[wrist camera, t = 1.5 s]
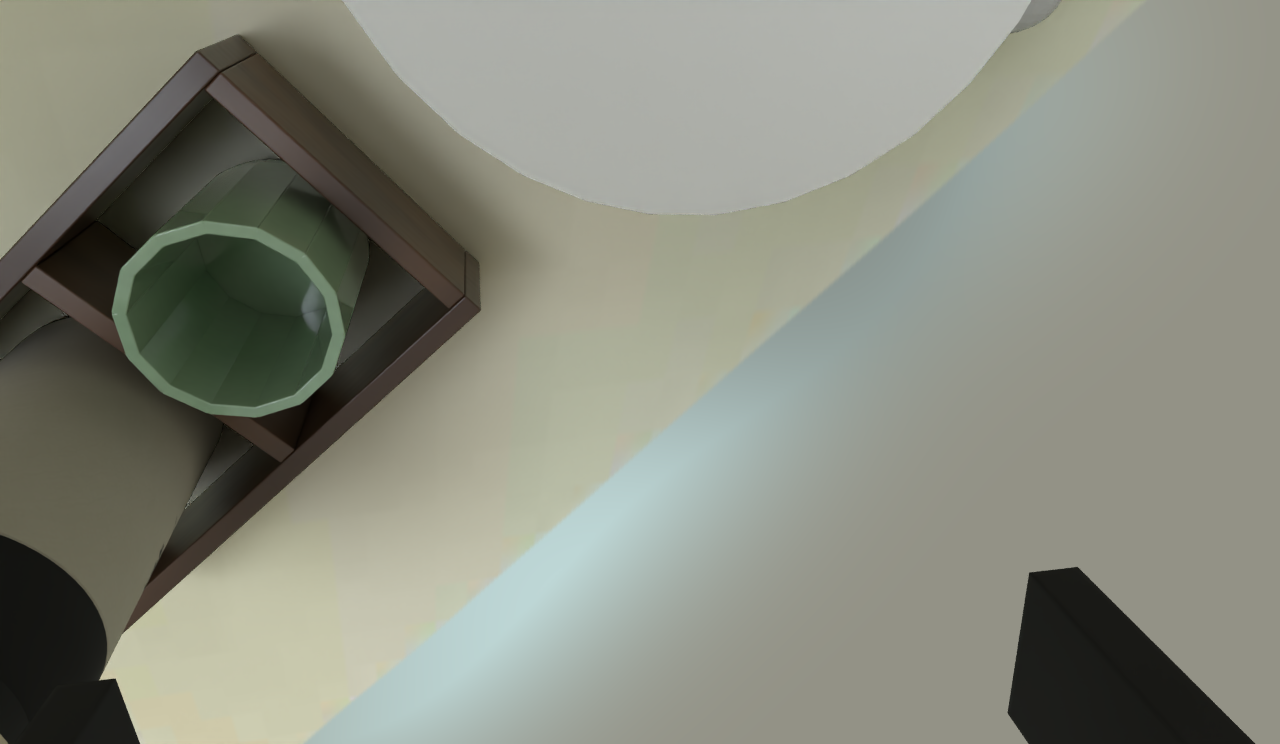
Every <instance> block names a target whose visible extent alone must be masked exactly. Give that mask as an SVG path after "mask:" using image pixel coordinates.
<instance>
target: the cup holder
mask: <svg viewBox="0 0 1280 744" xmlns="http://www.w3.org/2000/svg"><path fill="white" fill-rule="evenodd" d="M213 98H214V99H215V100H216V101H217V102H218V103H219V104H220V105H221V106H223V107H224V108H225V109H226V110H227V111H228V112H229V113H230V114H232V115H233V116H234V117H235V118H236V119H237V120H238V121H239V122H240V123H242V124H243V125H244V126H245V127H246V128H247V129H248V130H249V131H251V132H252V133H253V134H254V135H255V136H256V137H257V138H258V139H259V140H261V141H262V142H263V143H264V144H265V145H266V146H267V147H268V148H270V149H271V150H272V151H273V152H274V153H275V154H276V155H277V156H278V157H280V158H281V159H282V160H283V161H284V162H285V163H286V164H287V165H289V166H290V167H291V168H292V169H293V170H294V171H295V172H296V173H297V174H299V175H300V176H301V177H302V178H303V179H304V180H305V181H306V182H308V183H309V184H310V185H311V186H312V187H313V188H314V189H315V190H316V191H318V192H319V193H320V194H321V195H322V196H323V197H324V198H325V199H327V200H328V201H329V202H330V203H331V204H332V205H333V206H334V207H335V208H337V209H338V210H339V211H340V212H341V213H342V214H343V215H344V216H346V217H347V218H348V219H349V220H350V221H351V222H352V223H353V224H354V225H356V226H357V227H358V228H359V229H360V230H361V231H362V232H363V233H365V234H366V235H367V236H368V237H369V238H370V239H371V240H372V241H373V242H375V243H376V244H377V245H378V246H379V247H380V248H381V249H382V250H384V251H385V252H386V253H387V254H388V255H389V256H390V257H391V258H392V259H394V260H395V261H396V262H397V263H398V264H399V265H400V266H401V267H403V268H404V269H405V270H406V271H407V272H408V273H409V274H410V275H411V276H413V277H414V278H415V279H416V280H417V281H418V282H419V283H420V284H422V285H423V286H424V287H425V288H424V289H423V290H422V291H421V292H420V293H419V294H418V295H417V296H416V297H414V298H413V299H412V300H411V301H410V302H409V303H408V304H407V305H406V306H405V307H404V308H403V309H401V310H400V311H399V312H398V313H397V314H396V315H395V316H394V317H393V318H392V319H391V320H390V321H388V322H387V323H386V324H385V325H384V326H383V327H382V328H381V329H380V330H379V331H378V332H377V333H375V334H374V335H373V336H372V337H371V338H370V339H369V340H368V341H367V342H366V343H365V344H364V345H362V346H361V347H360V348H359V349H358V350H357V351H356V352H355V353H354V354H353V355H352V356H351V357H349V358H348V359H347V360H346V361H345V362H344V363H343V364H342V365H341V366H340V367H339V368H338V369H337V370H335V371H334V374H333V375H332V377H330V378H329V379H328V380H327V381H326V382H325V383H324V384H323V385H322V386H321V387H320V388H319V389H317V390H316V391H315V392H314V393H313V394H312V395H311V396H310V397H309V398H308V399H307V400H306V401H304V402H303V403H301V404H300V405H297V406H293V407H290V408H287V409H284V410H281V411H277V412H274V413H271V414H268V415H265V416H261V417H242V416H229V415H215V414H211V415H213V416H214V417H216V418H217V419H219V420H220V421H221V422H223V423H224V424H226V425H227V426H229V427H230V428H231V429H233V430H234V431H236V432H237V433H239V434H240V435H242V436H243V437H244V438H246V439H247V440H249V441H250V442H252V443H253V444H255V445H254V446H253V447H252V448H251V449H250V450H249V451H248V452H247V453H246V454H244V455H243V456H242V457H241V458H240V459H239V460H238V461H237V462H236V463H235V464H234V465H233V466H231V467H230V468H229V469H228V470H227V471H226V472H225V473H224V474H223V475H222V476H221V477H220V478H218V479H217V480H216V481H215V482H214V483H213V484H212V485H211V486H210V487H209V488H208V489H207V490H206V491H204V492H203V493H202V494H201V495H200V496H199V497H198V498H197V499H196V500H195V501H194V502H193V503H191V504H190V505H189V506H188V507H187V508H186V509H185V510H184V511H183V513H182V515H181V517H180V519H179V521H178V523H177V525H176V527H175V529H174V531H173V533H172V535H171V537H170V539H169V541H168V543H167V545H166V547H165V549H164V551H163V553H162V555H161V557H160V559H159V561H158V563H157V565H156V567H155V569H154V571H153V573H152V575H151V577H150V579H149V581H148V583H147V585H146V587H145V589H144V591H143V593H142V595H141V597H140V599H139V601H138V603H137V605H136V607H135V609H134V611H133V613H132V615H131V617H130V619H129V621H128V623H127V625H126V627H125V629H124V631H123V633H124V632H125V631H126V630H127V629H128V628H129V627H131V626H132V625H133V624H134V623H135V622H136V621H137V620H138V619H139V618H140V617H142V616H143V615H144V614H145V613H146V612H147V611H148V610H149V609H150V608H152V607H153V606H154V605H155V604H156V603H157V602H158V601H159V600H160V599H162V598H163V597H164V596H165V595H166V594H167V593H168V592H169V591H170V590H172V589H173V588H174V587H175V586H176V585H177V584H178V583H179V582H180V581H181V580H183V579H184V578H185V577H186V576H187V575H188V574H189V573H190V572H191V571H193V570H194V569H195V568H196V567H197V566H198V565H199V564H200V563H201V562H203V561H204V560H205V559H206V558H207V557H208V556H209V555H210V554H211V553H213V552H214V551H215V550H216V549H217V548H218V547H219V546H220V545H221V544H223V543H224V542H225V541H226V540H227V539H228V538H229V537H230V536H231V535H232V534H234V533H235V532H236V531H237V530H238V529H239V528H240V527H241V526H242V525H244V524H245V523H246V522H247V521H248V520H249V519H250V518H251V517H252V516H254V515H255V514H256V513H257V512H258V511H259V510H260V509H261V508H262V507H264V506H265V505H266V504H267V503H268V502H269V501H270V500H271V499H272V498H273V497H275V496H276V495H277V494H278V493H279V492H280V491H281V490H282V489H283V488H285V487H286V486H287V485H288V484H289V483H290V482H291V481H292V480H293V479H295V478H296V477H297V476H298V475H299V474H300V473H301V472H302V471H303V470H305V469H306V468H307V467H308V466H309V465H310V464H311V463H312V462H313V461H314V460H316V459H317V458H318V457H319V456H320V455H321V454H322V453H323V452H324V451H326V450H327V449H328V448H329V447H330V446H331V445H332V444H333V443H334V442H336V441H337V440H338V439H339V438H340V437H341V436H342V435H343V434H344V433H346V432H347V431H348V430H349V429H350V428H351V427H352V426H353V425H354V424H355V423H357V422H358V421H359V420H360V419H361V418H362V417H363V416H364V415H365V414H367V413H368V412H369V411H370V410H371V409H372V408H373V407H374V406H375V405H377V404H378V403H379V402H380V401H381V400H382V399H383V398H384V397H385V396H387V395H388V394H389V393H390V392H391V391H392V390H393V389H394V388H395V387H396V386H398V385H399V384H400V383H401V382H402V381H403V380H404V379H405V378H406V377H408V376H409V375H410V374H411V373H412V372H413V371H414V370H415V369H416V368H418V367H419V366H420V365H421V364H422V363H423V362H424V361H425V360H426V359H428V358H429V357H430V356H431V355H432V354H433V353H434V352H435V351H436V350H437V349H439V348H440V347H441V346H442V345H443V344H444V343H445V342H446V341H447V340H449V339H450V338H451V337H452V336H453V335H454V334H455V333H456V332H457V331H459V330H460V329H461V328H462V327H463V326H464V325H465V324H466V323H467V322H469V321H470V320H471V319H472V318H473V317H474V316H475V315H476V314H477V313H479V312H480V310H481V302H480V275H479V263H478V262H477V261H476V260H475V259H474V258H473V257H472V256H471V255H470V254H469V253H468V252H467V251H465V250H464V248H463V247H462V246H460V245H459V244H458V243H457V242H456V241H455V240H454V239H453V238H452V237H451V236H450V235H449V234H448V233H447V232H446V231H445V230H444V229H443V228H441V227H440V226H439V225H438V224H437V223H436V222H435V221H434V220H433V219H432V218H431V217H430V216H429V215H428V214H427V213H426V212H425V211H424V210H423V209H421V208H420V207H419V206H418V205H417V204H416V203H415V202H414V201H413V200H412V199H411V198H410V197H409V196H408V195H407V194H406V193H405V192H404V191H403V190H401V189H400V188H399V187H398V186H397V185H396V184H395V183H394V182H393V181H392V180H391V179H390V178H389V177H388V176H387V175H386V174H385V173H384V172H383V171H381V170H380V169H379V168H378V167H377V166H376V165H375V164H374V163H373V162H372V161H371V160H370V159H369V158H368V157H367V156H366V155H365V154H364V153H363V152H361V151H360V150H359V149H358V148H357V147H356V146H355V145H354V144H353V143H352V142H351V141H350V140H349V139H348V138H347V137H346V136H345V135H344V134H343V133H341V132H340V131H339V130H338V129H337V128H336V127H335V126H334V125H333V124H332V123H331V122H330V121H329V120H328V119H327V118H326V117H325V116H324V115H323V114H321V113H320V112H319V111H318V110H317V109H316V108H315V107H314V106H313V105H312V104H311V103H310V102H309V101H308V100H307V99H306V98H305V97H304V96H303V95H301V94H300V93H299V92H298V91H297V90H296V89H295V88H294V87H293V86H292V85H291V84H290V83H289V82H288V81H287V80H286V79H285V78H284V77H283V76H281V75H280V74H279V73H278V72H277V71H276V70H275V69H274V68H273V67H272V66H271V65H270V64H269V63H268V62H267V61H266V60H265V59H264V58H263V57H261V56H260V55H259V54H257V53H256V51H255V50H254V49H253V48H252V47H251V46H250V45H249V44H248V43H247V42H246V41H245V40H244V39H243V38H242V37H241V36H240V35H235V36H232V37H230V38H228V39H225V40H223V41H220V42H218V43H215V44H213V45H210V46H208V47H205V48H203V49H200V50H198V51H196V52H195V53H194V54H193V55H192V56H191V57H190V58H189V59H188V60H187V61H186V62H185V64H184V65H183V66H182V67H181V68H180V69H179V70H178V71H177V72H176V73H175V74H174V75H173V76H172V77H171V78H170V80H169V81H168V82H167V83H166V84H165V85H164V86H163V87H162V88H161V89H160V90H159V91H158V92H157V93H156V94H155V95H154V97H153V98H152V99H151V100H150V101H149V102H148V103H147V104H146V105H145V106H144V107H143V108H142V109H141V110H140V111H139V113H138V114H137V115H136V116H135V117H134V118H133V119H132V120H131V121H130V122H129V123H128V124H127V125H126V126H125V127H124V128H123V130H122V131H121V132H120V133H119V134H118V135H117V136H116V137H115V138H114V139H113V140H112V141H111V142H110V143H109V144H108V146H107V147H106V148H105V149H104V150H103V151H102V152H101V153H100V154H99V155H98V156H97V157H96V158H95V159H94V160H93V161H92V163H91V164H90V165H89V166H88V167H87V168H86V169H85V170H84V171H83V172H82V173H81V174H80V175H79V176H78V177H77V178H76V180H75V181H74V182H73V183H72V184H71V185H70V186H69V187H68V188H67V189H66V190H65V191H64V192H63V193H62V194H61V196H60V197H59V198H58V199H57V200H56V201H55V202H54V203H53V204H52V205H51V206H50V207H49V208H48V209H47V210H46V211H45V213H44V214H43V215H42V216H41V217H40V218H39V219H38V220H37V221H36V222H35V223H34V224H33V225H32V226H31V227H30V229H29V230H28V231H27V232H26V233H25V234H24V235H23V236H22V237H21V238H20V239H19V240H18V241H17V242H16V243H15V244H14V246H13V247H12V248H11V249H10V250H9V251H8V252H7V253H6V254H5V255H4V256H3V257H2V258H1V259H0V320H1V319H2V318H3V317H4V316H5V315H6V314H7V313H8V312H9V311H10V309H11V308H12V307H13V306H14V305H15V304H16V303H17V302H18V301H19V300H20V299H21V298H22V297H23V296H24V295H25V294H26V293H27V292H28V291H29V290H30V289H31V290H33V291H34V292H36V293H37V294H39V295H40V296H42V297H43V298H44V299H46V300H47V301H49V302H50V303H52V304H53V305H54V306H56V307H57V308H59V309H60V310H62V311H63V312H65V313H66V314H67V315H69V316H70V317H72V318H73V319H75V320H76V321H77V322H79V323H80V324H82V325H83V326H85V327H86V328H88V329H89V330H90V331H92V332H93V333H95V334H96V335H98V336H99V337H101V338H102V339H103V340H105V341H106V342H108V343H109V344H111V345H112V346H113V347H115V348H116V349H118V350H119V351H121V352H122V353H124V354H125V351H124V348H123V345H122V342H121V339H120V337H119V334H118V331H117V328H116V325H115V322H114V319H113V316H112V306H113V302H114V297H115V292H116V287H117V282H118V277H119V272H120V270H121V267H122V266H123V265H124V264H125V263H126V262H127V261H128V260H129V259H130V258H131V257H132V256H133V255H134V254H135V253H136V252H137V251H136V250H135V249H133V248H132V247H131V246H129V245H128V244H127V243H125V242H124V241H123V240H122V239H120V238H119V237H118V236H116V235H115V234H114V233H112V232H111V231H110V230H108V229H107V228H106V227H104V226H103V225H102V224H101V223H99V222H98V221H96V220H97V219H98V218H99V217H100V216H101V214H102V213H103V212H104V211H105V210H106V209H107V208H108V207H109V206H110V205H111V204H112V203H113V202H114V201H115V200H116V199H117V198H118V197H119V196H120V195H121V194H122V193H123V192H124V190H125V189H126V188H127V187H128V186H129V185H130V184H131V183H132V182H133V181H134V180H135V179H136V178H137V177H138V176H139V175H140V174H141V173H142V172H143V171H144V170H145V169H146V168H147V166H148V165H149V164H150V163H151V162H152V161H153V160H154V159H155V158H156V157H157V156H158V155H159V154H160V153H161V152H162V151H163V150H164V149H165V148H166V147H167V146H168V145H169V143H170V142H171V141H172V140H173V139H174V138H175V137H176V136H177V135H178V134H179V133H180V132H181V131H182V130H183V129H184V128H185V127H186V126H187V125H188V124H189V123H190V122H191V121H192V119H193V118H194V117H195V116H196V115H197V114H198V113H199V112H200V111H201V110H202V109H203V108H204V107H205V106H206V105H207V104H208V103H209V102H210V101H211V100H212V99H213ZM125 355H126V354H125ZM123 633H122V634H123Z"/></svg>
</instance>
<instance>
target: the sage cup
mask: <svg viewBox="0 0 1280 744" xmlns="http://www.w3.org/2000/svg"><path fill="white" fill-rule="evenodd" d="M368 262H369V241H368V236H367V235H366V234H365V233H363V232H362V231H361V230H360V229H359V228H358V227H357V226H356V225H354V224H353V223H352V222H351V221H350V220H349V219H348V218H347V217H346V216H344V215H343V214H342V213H341V212H340V211H339V210H338V209H337V208H335V207H334V206H333V205H332V204H331V203H330V202H329V201H328V200H327V199H325V198H324V197H323V196H322V195H321V194H320V193H319V192H318V191H316V190H315V189H314V188H313V187H312V186H311V185H310V184H309V183H308V182H306V181H305V180H304V179H303V178H302V177H301V176H300V175H299V174H297V173H296V172H295V171H294V170H293V169H292V168H291V167H290V166H289V165H287V164H286V163H285V162H284V161H283V160H257V161H250V162H246V163H243V164H239V165H237V166H235V167H232V168H230V169H228V170H226V171H224V172H221V173H220V174H218V175H217V176H216V177H215V178H214V179H213V180H212V181H211V182H209V183H208V184H207V185H206V186H205V187H204V188H203V189H202V190H201V191H200V192H199V193H198V194H197V195H196V196H195V197H193V198H192V199H191V200H190V201H189V202H188V203H187V204H186V205H185V206H184V207H183V208H182V209H181V210H180V211H178V212H177V213H176V214H175V215H174V216H173V217H172V218H171V219H170V220H169V221H168V222H167V223H166V224H165V225H163V226H162V227H161V228H160V229H159V230H158V231H157V232H156V233H155V234H154V235H153V236H152V237H151V238H150V239H149V240H148V241H147V242H146V243H145V244H144V245H143V246H142V247H141V248H140V249H139V250H138V251H137V252H136V253H135V254H134V255H133V256H132V257H131V258H130V259H129V260H128V261H127V262H126V263H125V264H124V265H123V266H122V267H121V270H120V272H119V277H118V282H117V287H116V292H115V297H114V302H113V306H112V316H113V319H114V322H115V325H116V328H117V331H118V334H119V337H120V339H121V342H122V345H123V348H124V351H125V354H126V356H127V358H128V359H129V360H130V361H131V362H132V363H133V364H134V365H135V366H136V367H137V368H138V369H139V370H140V371H141V372H142V373H143V374H144V375H145V377H146V378H147V379H148V380H149V381H150V382H151V383H152V384H153V385H154V386H155V387H156V388H157V389H158V390H159V391H160V392H163V394H165V395H167V396H169V397H172V398H174V399H176V400H178V401H181V402H183V403H185V404H187V405H189V406H192V407H194V408H196V409H198V410H200V411H203V412H205V413H209V414H215V415H229V416H242V417H261V416H265V415H268V414H271V413H274V412H277V411H281V410H284V409H287V408H290V407H293V406H297V405H300V404H301V403H303V402H304V401H306V400H307V399H308V398H309V397H310V396H311V395H312V394H313V393H314V392H315V391H316V390H317V389H319V388H320V387H321V386H322V385H323V384H324V383H325V382H326V381H327V380H328V379H329V378H330V377H332V375H333V374H334V371H335V368H336V365H337V361H338V358H339V355H340V352H341V349H342V346H343V343H344V340H345V337H346V333H347V330H348V327H349V324H350V321H351V317H352V314H353V311H354V308H355V304H356V301H357V298H358V295H359V291H360V288H361V285H362V282H363V278H364V275H365V272H366V269H367V265H368Z"/></svg>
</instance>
